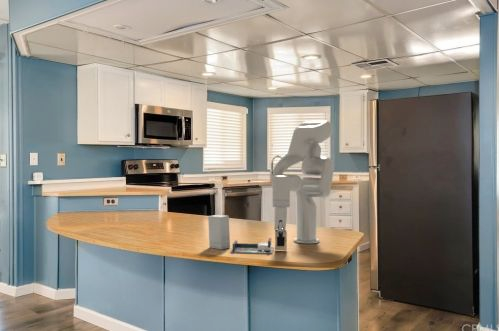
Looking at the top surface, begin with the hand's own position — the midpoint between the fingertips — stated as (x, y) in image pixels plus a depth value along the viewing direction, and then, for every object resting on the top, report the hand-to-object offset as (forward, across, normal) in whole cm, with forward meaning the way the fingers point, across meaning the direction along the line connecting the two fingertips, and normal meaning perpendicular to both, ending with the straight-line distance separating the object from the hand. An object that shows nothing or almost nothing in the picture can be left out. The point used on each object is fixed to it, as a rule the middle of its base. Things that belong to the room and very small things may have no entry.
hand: (280, 244), depth 188 cm
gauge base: (+3, 0, -14) cm, 14 cm away
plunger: (+2, +1, -7) cm, 8 cm away
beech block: (+2, 0, 0) cm, 2 cm away
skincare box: (+3, -5, -28) cm, 29 cm away
